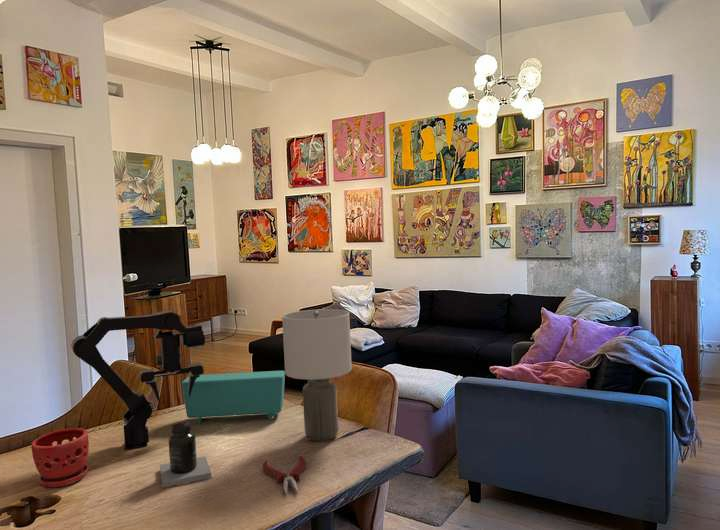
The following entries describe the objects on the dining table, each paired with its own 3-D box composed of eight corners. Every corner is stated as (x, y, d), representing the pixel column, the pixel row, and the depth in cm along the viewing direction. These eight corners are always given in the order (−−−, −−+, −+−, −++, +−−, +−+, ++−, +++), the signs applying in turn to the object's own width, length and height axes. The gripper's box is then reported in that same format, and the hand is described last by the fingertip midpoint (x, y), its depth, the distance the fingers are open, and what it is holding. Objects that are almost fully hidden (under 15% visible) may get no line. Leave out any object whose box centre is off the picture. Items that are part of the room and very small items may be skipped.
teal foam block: (287, 410, 197) (285, 369, 196) (284, 420, 186) (282, 376, 186) (191, 416, 195) (188, 374, 194) (183, 426, 185) (180, 382, 184)
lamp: (367, 437, 167) (362, 310, 164) (308, 455, 155) (302, 318, 153) (332, 420, 183) (327, 305, 181) (277, 435, 172) (270, 312, 170)
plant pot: (53, 470, 153) (50, 428, 152) (100, 469, 152) (97, 426, 152) (23, 492, 140) (19, 446, 139) (74, 491, 139) (70, 444, 139)
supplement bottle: (201, 468, 146) (198, 424, 145) (176, 476, 141) (173, 431, 141) (190, 461, 151) (188, 418, 150) (166, 469, 146) (163, 424, 146)
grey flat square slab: (162, 488, 138) (162, 482, 138) (160, 470, 150) (160, 464, 149) (211, 478, 143) (211, 472, 143) (205, 461, 154) (205, 456, 154)
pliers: (267, 502, 129) (267, 491, 129) (262, 468, 149) (262, 459, 149) (316, 495, 132) (315, 484, 132) (304, 462, 152) (304, 453, 152)
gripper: (198, 342, 185) (201, 388, 186) (139, 349, 178) (142, 396, 179) (202, 348, 175) (205, 396, 176) (139, 355, 168) (142, 406, 169)
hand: (174, 398), depth 175 cm, fingers open, 9 cm apart
